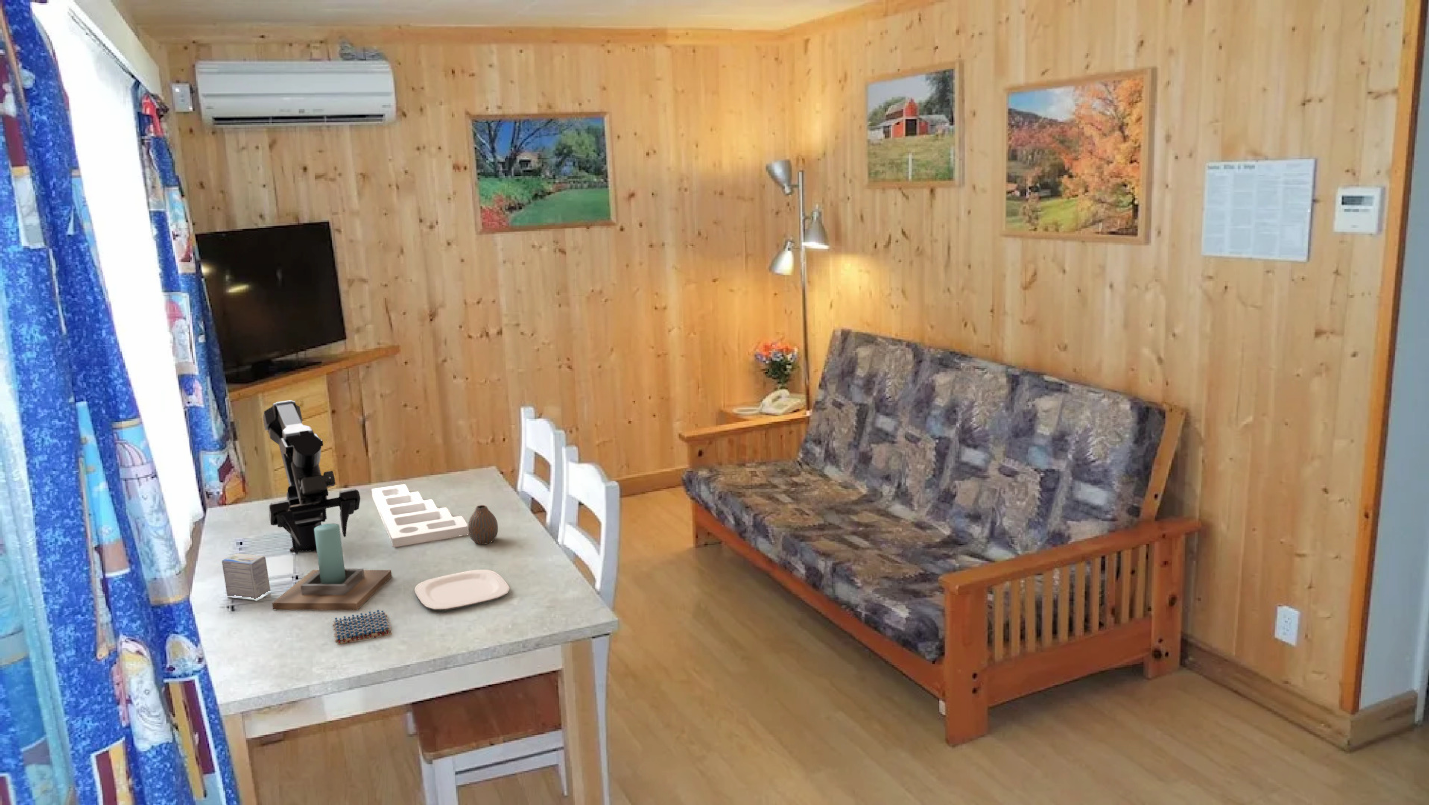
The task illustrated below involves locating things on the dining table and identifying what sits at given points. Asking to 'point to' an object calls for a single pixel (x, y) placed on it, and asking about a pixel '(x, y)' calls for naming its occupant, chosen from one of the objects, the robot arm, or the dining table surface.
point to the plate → (461, 589)
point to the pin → (330, 554)
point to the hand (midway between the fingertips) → (323, 540)
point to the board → (333, 591)
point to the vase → (482, 525)
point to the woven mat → (361, 627)
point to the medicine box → (246, 575)
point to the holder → (414, 517)
